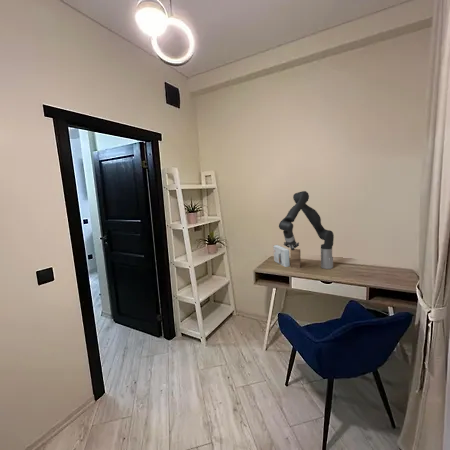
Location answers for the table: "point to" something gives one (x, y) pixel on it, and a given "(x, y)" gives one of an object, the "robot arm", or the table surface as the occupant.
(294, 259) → the walnut block
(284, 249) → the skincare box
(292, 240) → the robot arm
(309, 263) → the table surface
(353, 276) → the table surface
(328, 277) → the table surface
